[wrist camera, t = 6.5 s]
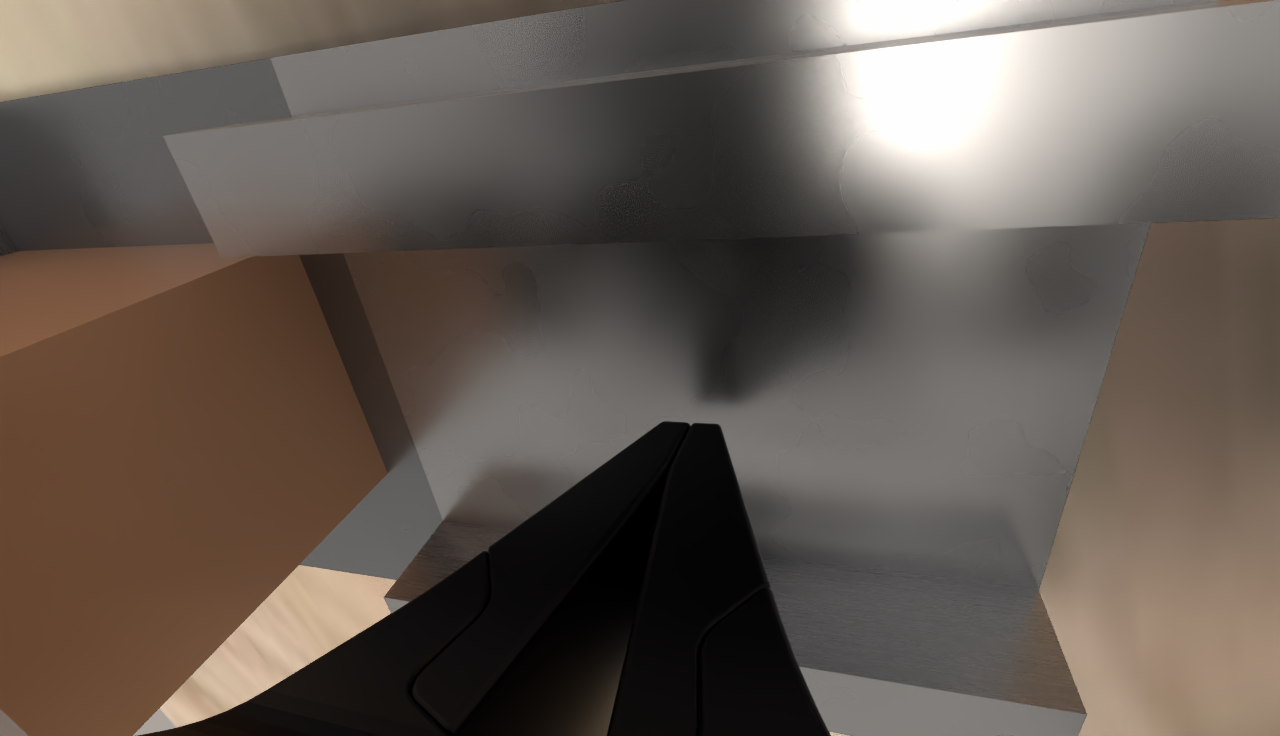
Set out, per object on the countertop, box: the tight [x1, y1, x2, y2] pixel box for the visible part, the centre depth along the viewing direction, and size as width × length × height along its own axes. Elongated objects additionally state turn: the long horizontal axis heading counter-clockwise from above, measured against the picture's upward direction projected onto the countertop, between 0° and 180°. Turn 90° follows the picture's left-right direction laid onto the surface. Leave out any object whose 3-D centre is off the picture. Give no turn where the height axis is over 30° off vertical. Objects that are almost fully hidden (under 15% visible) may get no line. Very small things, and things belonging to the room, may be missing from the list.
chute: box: [0, 0, 1280, 736], centre depth 10 cm, size 20×11×3 cm, turn 97°
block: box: [0, 243, 388, 736], centre depth 9 cm, size 7×5×6 cm
